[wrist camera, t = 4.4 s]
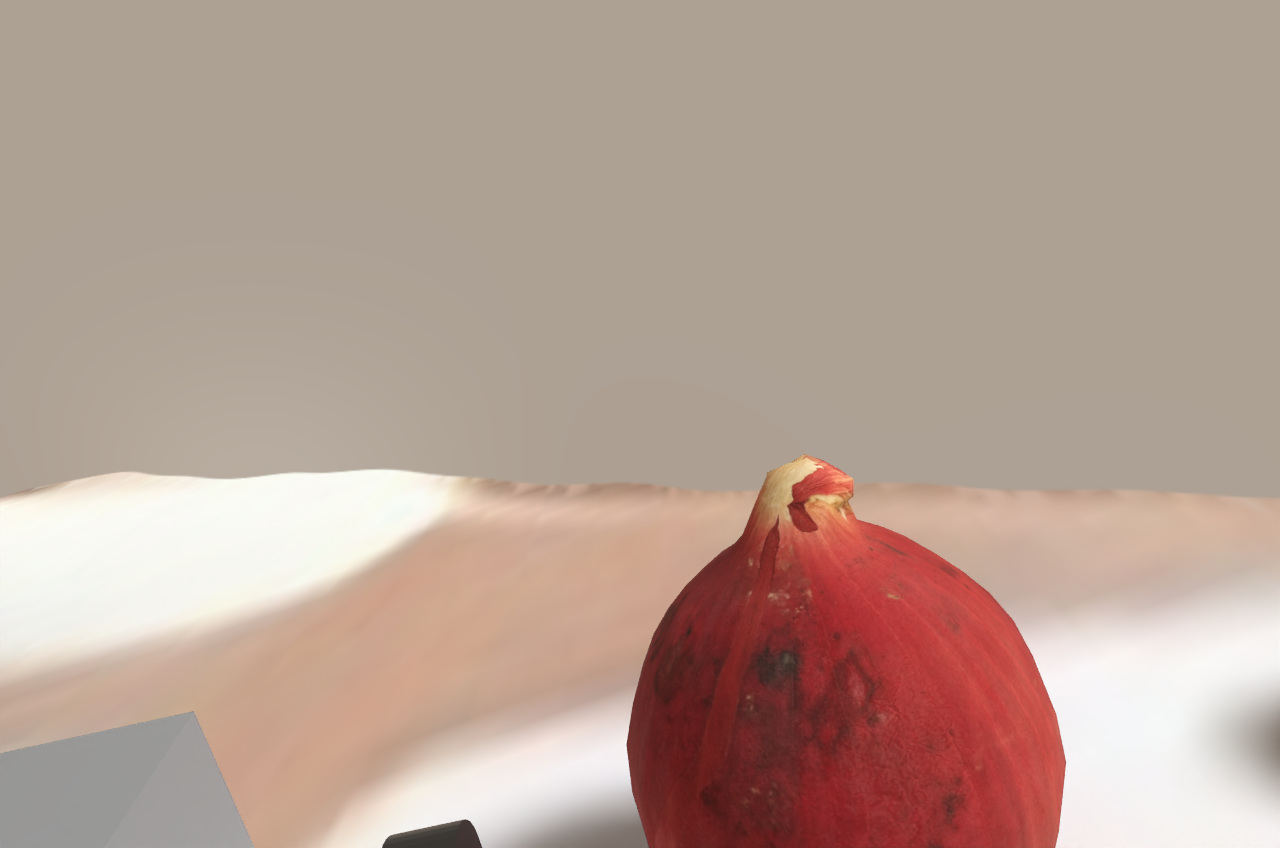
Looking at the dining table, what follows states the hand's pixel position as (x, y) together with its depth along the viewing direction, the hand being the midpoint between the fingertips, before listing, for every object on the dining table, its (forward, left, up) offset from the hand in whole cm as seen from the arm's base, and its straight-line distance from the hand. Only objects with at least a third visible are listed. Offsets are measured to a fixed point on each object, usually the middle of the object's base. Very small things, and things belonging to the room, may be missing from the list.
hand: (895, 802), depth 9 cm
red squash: (-2, +3, -6) cm, 7 cm away
